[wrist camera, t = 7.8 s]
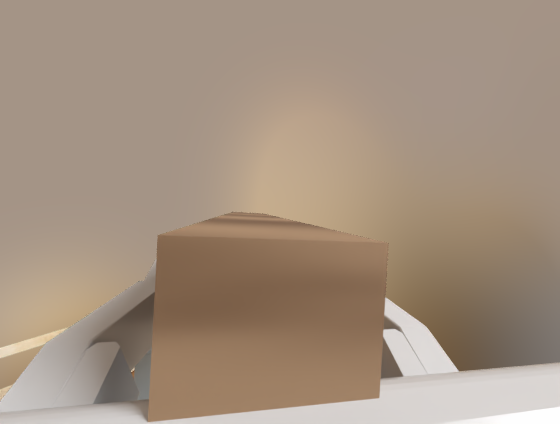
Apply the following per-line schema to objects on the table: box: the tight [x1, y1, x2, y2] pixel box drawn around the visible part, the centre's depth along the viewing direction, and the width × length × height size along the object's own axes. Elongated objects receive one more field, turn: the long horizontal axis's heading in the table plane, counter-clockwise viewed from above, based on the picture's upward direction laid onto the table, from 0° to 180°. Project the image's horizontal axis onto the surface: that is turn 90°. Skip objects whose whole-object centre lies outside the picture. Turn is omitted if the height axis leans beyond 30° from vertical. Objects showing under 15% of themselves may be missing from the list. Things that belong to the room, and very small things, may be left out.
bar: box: [148, 212, 388, 422], centre depth 14 cm, size 22×4×4 cm, turn 9°
